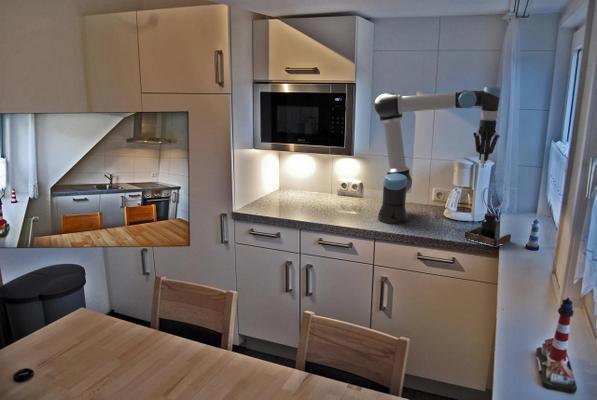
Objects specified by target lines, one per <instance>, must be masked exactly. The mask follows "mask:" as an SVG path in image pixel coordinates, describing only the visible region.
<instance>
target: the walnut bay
mask: <svg viewBox="0 0 597 400" xmlns="http://www.w3.org/2000/svg"><path fill="white" fill-rule="evenodd" d="M480 232H481V225H480V226H478V227H475V228H472V229H470V230H467V231H465V232H464V238H466V239H470V240H474V241H478V242H482V243H486V244H490V245H493V246H497V245H499V244H504V245H506V244H508V243H510V242H511V239H512V238H511V237H512V234H510V233H508V234H505V235H504V236H500V237H499V238H496V239H495V240H494V239H491V238H487V237H484V236H480ZM477 234H479V235H477Z"/></svg>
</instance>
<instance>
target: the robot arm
mask: <svg viewBox="0 0 597 400" xmlns="http://www.w3.org/2000/svg"><path fill="white" fill-rule="evenodd" d="M500 99H501V88H500V87H498V86H485V87H484V88H483V90H470V89H469V90H467V89H464V90H461V89H460V90H458V91H457V92H456V91H455V92H454V91H453V92H452V91H451V92H442V93H440V92H439V93H427V94H419V95H417V94H416V95H406V96H405V95H404V96H402V95H401V94H397V93H394V92H387V93H382V94H379V96H377V97H376V99H375V101H374V110H375V112H376V114H378V116H379V121H380V122H381V123H382V124H383V130H384V136H385V137H384V138H385V143H386V150H387V152H386V153H387V158H388V166H389V167H388V170H387V171H386V172H387V173H386V175H385V176H384V180H383V183H382V184H383V188H382V203H381V204H382V205H381V207H380V209H379V212H378V213H377V219H378V221H380V222H382V223H386V224H390V225H392V224H394V225H401V224H404V223H408V217H409V216H408V214H407V208H406V199H407V193H408V192H409V191H410V189H412V185H413V178H412V176H411V174H410V168H409V167H408V166H407V165H406V157H405V150H404V143H403V142H404V141H403V135H402V127H401V120H402V119H403V113H407V112H409V113H411V112H422V111H423V112H424V111H437V110H438V111H439V110H452V109H471V108H472V107H479V108H481V112H480V120H479V126H478V127H479V128H478V130H477V131H476V132H473V136H474V140H475V151H476V153H478V156H479V157H478V159H479V161H480V163H481V164H482V166H481V167H480V168H485V167H484V164H486V163H487V162H488V160H489V155H491V154H493V153H494V149H495V147H496V146H497V142H498V140H499V139H500V137H501V135H500V134H498V133H497V131H496V128H497V119H498V113H499V106H500ZM480 163H479V164H480Z"/></svg>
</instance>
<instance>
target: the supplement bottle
mask: <svg viewBox="0 0 597 400" xmlns="http://www.w3.org/2000/svg"><path fill="white" fill-rule="evenodd" d="M496 219H497V214H494V213H490V212H486V213H485V214H484V217H483V219H482V220H481V225H480V226H481V232H480V234H479V235H480V236H484V237H487V238H491V239H494V240H496V239H497V238H496V237H497V229H498V221H497V220H496Z"/></svg>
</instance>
